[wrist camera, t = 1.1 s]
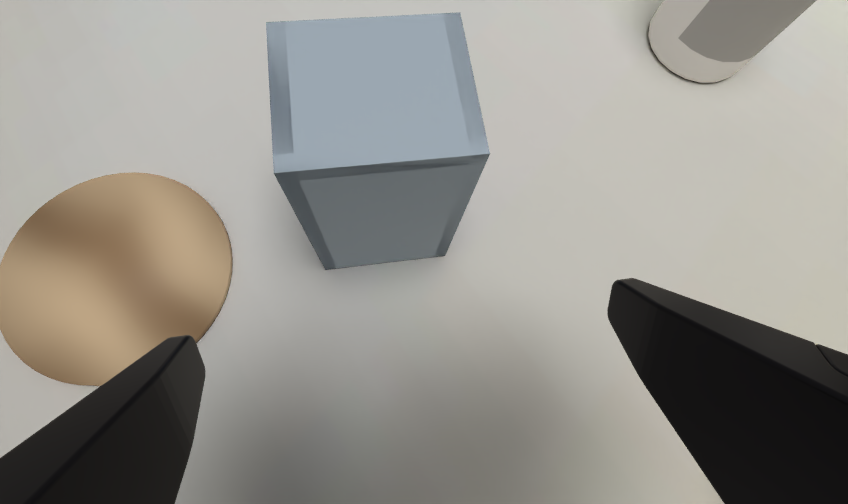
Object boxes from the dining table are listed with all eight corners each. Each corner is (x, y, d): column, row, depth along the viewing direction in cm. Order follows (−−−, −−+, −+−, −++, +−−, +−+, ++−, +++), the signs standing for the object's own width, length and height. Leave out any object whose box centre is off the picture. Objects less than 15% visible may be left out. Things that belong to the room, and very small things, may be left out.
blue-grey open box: (444, 255, 24) (489, 153, 13) (325, 269, 23) (274, 173, 13) (430, 166, 25) (460, 12, 15) (317, 176, 25) (266, 22, 14)
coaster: (161, 420, 20) (156, 421, 20) (-50, 335, 21) (-58, 334, 20) (269, 218, 24) (267, 216, 23) (86, 147, 24) (81, 144, 24)
